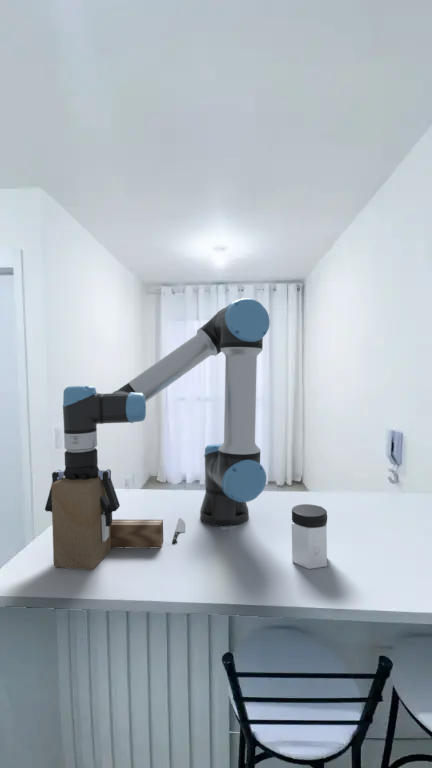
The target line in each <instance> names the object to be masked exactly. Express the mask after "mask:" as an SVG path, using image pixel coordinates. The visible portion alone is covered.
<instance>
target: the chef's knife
mask: <svg viewBox="0 0 432 768" xmlns="http://www.w3.org/2000/svg"><path fill="white" fill-rule="evenodd" d="M179 534H186V522H185V521H184V520H183V518H182V517H179V518H178V520H177V524H176V527H175V530H174V535H173V537H172V540H171V543H172V545H175V543H176V544H177V543H178V541H177V540H178V539H177V538H178V535H179Z"/></svg>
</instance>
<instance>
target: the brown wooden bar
mask: <svg viewBox="0 0 432 768" xmlns="http://www.w3.org/2000/svg"><path fill="white" fill-rule="evenodd" d="M110 532H111V547H123V549H124V548H125V547H130V548H131V547H133V548H131V549H138V548H139V549H145V548H146V549H151V548H150V547H161V548H162V546H163V543H164V519H120V518H119V519H118V518H117V519H116V518H115V519H113V518H112V524H111V525H110ZM134 547H136V548H134ZM137 547H138V548H137Z"/></svg>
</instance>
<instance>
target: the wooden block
mask: <svg viewBox="0 0 432 768" xmlns="http://www.w3.org/2000/svg"><path fill="white" fill-rule="evenodd" d="M50 489H51V491H52V512H51V515H52V516H51V517H52V519H51V520H52V551H53V553H52V554H53V567H54V568H58V569H59V568H62V569H63V568H64V569H74V570H75V569H76V570H77V569H78V570H94V569H95V568H96V567H97V565H98V564H99V563H100V562H101V561H102V560H103V559H104V558H105V556H106V555H108V553H110V552H111V549H112V548H111V532H110V526H109V537H108V538H107V540H106V541H102V518H101V515H102V514H103V512H104V511H103V509H102V508H101V506H100V496H103V495H105V496H106V498H107V499H108V497H107V494H106V491H105V488H104V485H103V480H102V479H101V478H100V476H99V475H98V477H96V478H93V479H88V480H82V479H75V480H69V479H66V478H65V476H64V477H63V478H62V479H60V480H58V481H56V482H54V483H52V482H51V485H50ZM108 501H109V500H108Z"/></svg>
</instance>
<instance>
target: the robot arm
mask: <svg viewBox="0 0 432 768" xmlns="http://www.w3.org/2000/svg"><path fill="white" fill-rule="evenodd" d="M270 320H271V319H270V316H269V313H268V310H267V309H266V308H265V307H264V305H263V304H262V303H261V302H260V301H257V300H256V299H253V298H247V297H245V298H241V299H237V300H236V299H235V300H234V301H232V302H230V303H229V304H228V305H227V306H225V307H224V308H222V309H220V310H219V311H218V312H216V313H215V314H214V316H213V317H211V318H210V319H209V320H208V321H207V322H206V323H204V324H203V325H202V326H201V327H199V328H198V329H197V330H196V334H195V335H194V336H192V337H191V338H190V339H188V340H187V341H186V342H184V343H182V344H181V345H180V346H179V347H177V348H175V349H173V350H172V351H171V352H170V353H168V354H166V355H165V356H163V358H161V359H159V360H158V361H156V362H155V363H154V364H152V365H151V366H150V367H148V368H147V369H145V370H144V371H143V372H141V373H140V374H138V375H137V376H136V377H134V378H133V379H131V380H130V381H129V382H127V383H126V384H124V385H123V386H121V387H120V388H119V389H117V390H115V391H113V392H111V393H99V392H97V389H96V387H95V386H94V385H79V386H78V385H77V386H76V385H75V386H74V385H73V386H71V385H70V386H67V387H65V388H64V390H63V395H62V396H63V397H62V400H63V401H62V414H63V415H62V416H63V437H64V438H63V440H64V445H63V446H64V449H65V450H66V451H65V452H64V466H65V468H64V470H61V469H57V470H55V471H54V472H52V473H51V478H52V480H51V481H52V482H51V484H52V483H54V482H56V481H58V480H60V479H62V478H64V477H65V478H66V479H69V480H75V479H82V480H88V479H93V478H96V477H98V475H99V476H100V478H101V479H102V480H103V485H104V488H105V491H106V494H107V497H108V499H107V498H106V496H105V495H103V496H100V506H101V508H102V509H103V511H104V512H103V514H102V515H101V518H102V541H106V540H107V538H108V537H109V526H110V525H111V524H112V519H113V512H116V511H117V510H118V509H120V502H119V499H118V495H117V493H116V489H115V487H114V484H113V481H112V471H111V469H109V468H108V469H106V470H103V469H102V470H101V469H99V467H98V463H99V462H98V461H99V459H98V449H97V446H98V432H97V430H98V428H97V425H98V424H99V425H102V424H119V423H121V424H122V423H125V424H126V423H131V424H133V423H139V422H144V421H145V419H146V416H147V414H146V413H147V408H146V407H147V405H146V402H148V401H149V400H151V399H152V398H154V397H155V396H156V395H157V394H159V393H160V392H162V391H163V390H165V389H166V388H168V387H169V386H170V385H172V384H173V383H174V382H175V381H177V380H179V379H180V378H181V377H183V375H186V374H187V373H188V372H190V371H191V370H192V369H194V368H196V366H198V365H199V364H201V363H203V362H204V361H205V360H206V359H208V358H209V357H210V356H215V357H217V356H218V354H220V353H223V354H224V356H225V363H224V365H225V368H224V371H225V373H224V375H225V376H224V416H223V417H224V419H223V420H224V422H223V423H224V424H223V425H224V426H223V428H224V429H223V443H222V442H221V443H213V444H208V445H206V446H205V448H204V455H203V456H204V478H205V479H204V481H205V483H204V484H205V491H204V492H205V494H204V496H203V500H202V504H201V507H200V510H199V512H200V513H199V515H200V520H201V521H202V522H203V523H205V524H207V525H210V526H214V527H233V526H239V525H241V524H243V523H245V522H247V521H248V519H249V516H250V515H249V514H250V513H249V508H248V505H247V504H248V502H252V501H253V500H255V499H256V498H258V497H259V495H261V494H262V493H263V491H264V490H265V488H266V484H267V474H266V470H265V468H264V467H263V465H262V464H261V448H260V447H259V446H258V445H257V444H256V417H257V416H256V413H257V412H256V408H257V405H256V403H257V402H256V401H257V364H258V363H257V361H258V360H257V359H258V356H259V355H260V354H261V353H262V351H263V346H264V345H263V342H264V341H263V340H264V337H265V336H266V334H267V333H268V331H269V329H270V324H271V323H270ZM108 500H109V501H108ZM44 510H45V512H50V513H52V491H51V488H50V490H49V493H48V497H47V499H46V503H45V508H44Z"/></svg>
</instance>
